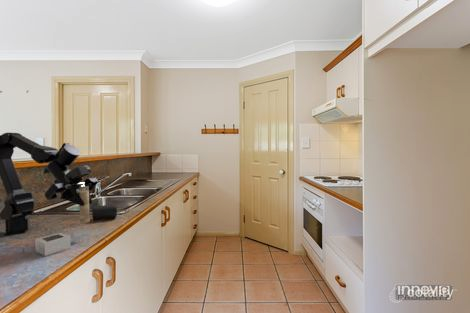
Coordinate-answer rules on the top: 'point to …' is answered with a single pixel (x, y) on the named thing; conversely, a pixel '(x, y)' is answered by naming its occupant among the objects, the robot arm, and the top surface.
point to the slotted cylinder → (85, 209)
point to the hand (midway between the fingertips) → (87, 204)
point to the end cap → (104, 212)
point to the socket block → (52, 244)
